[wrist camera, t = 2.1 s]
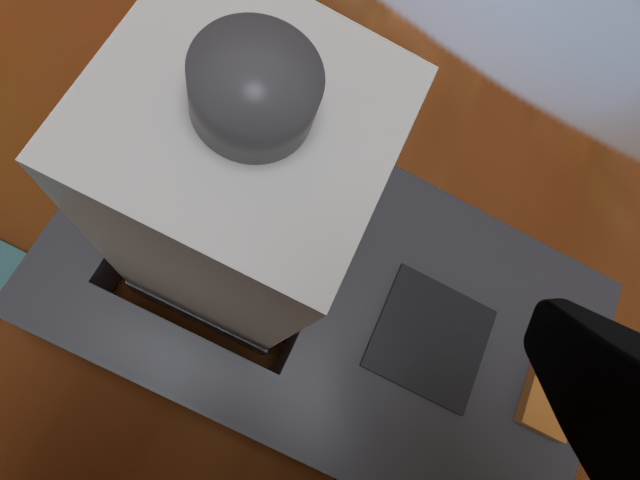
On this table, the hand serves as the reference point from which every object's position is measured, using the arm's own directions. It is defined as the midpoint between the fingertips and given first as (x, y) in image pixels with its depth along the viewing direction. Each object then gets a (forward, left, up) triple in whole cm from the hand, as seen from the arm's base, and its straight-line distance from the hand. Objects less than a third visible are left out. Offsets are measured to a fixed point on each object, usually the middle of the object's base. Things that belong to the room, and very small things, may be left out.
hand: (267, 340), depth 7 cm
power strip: (+3, -2, -11) cm, 11 cm away
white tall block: (+3, +2, -11) cm, 11 cm away
